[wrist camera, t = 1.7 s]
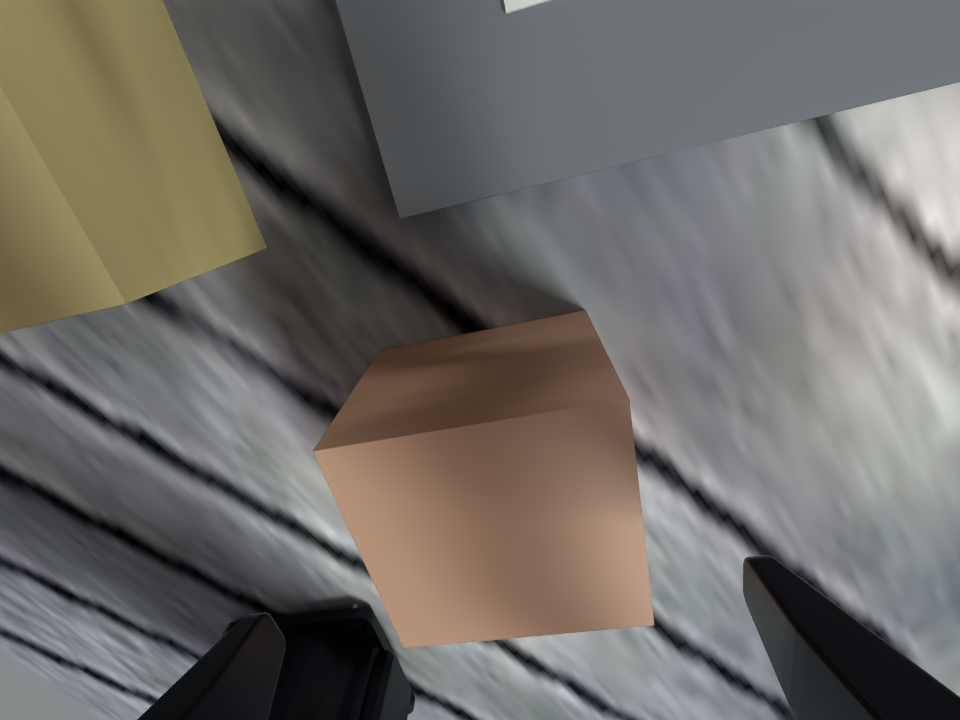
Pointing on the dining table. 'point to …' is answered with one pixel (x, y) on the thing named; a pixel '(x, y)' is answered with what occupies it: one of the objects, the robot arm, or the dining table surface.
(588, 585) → the terracotta brick
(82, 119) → the ochre brick
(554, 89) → the charcoal baseplate
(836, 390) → the dining table surface
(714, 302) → the dining table surface
